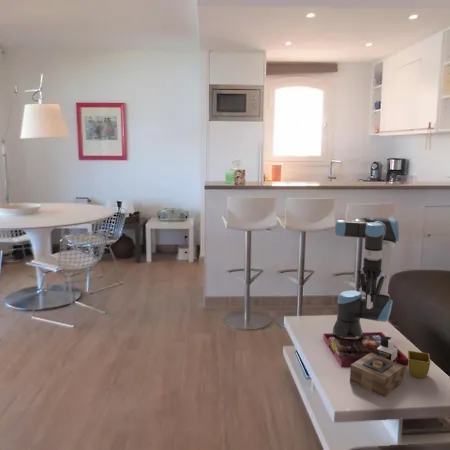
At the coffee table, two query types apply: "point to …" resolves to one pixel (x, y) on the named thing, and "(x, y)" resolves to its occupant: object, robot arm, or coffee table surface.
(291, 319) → the coffee table surface
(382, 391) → the socket block
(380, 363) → the peg
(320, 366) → the coffee table surface
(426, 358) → the flower pot
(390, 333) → the coffee table surface
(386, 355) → the medicine bottle
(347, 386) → the coffee table surface
